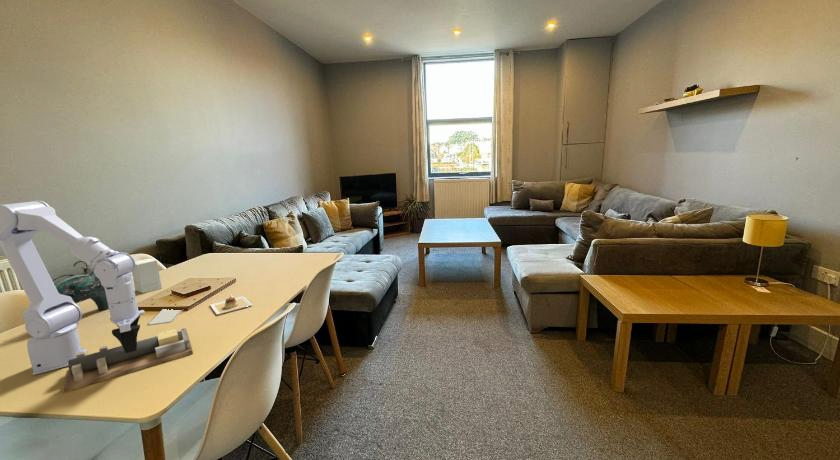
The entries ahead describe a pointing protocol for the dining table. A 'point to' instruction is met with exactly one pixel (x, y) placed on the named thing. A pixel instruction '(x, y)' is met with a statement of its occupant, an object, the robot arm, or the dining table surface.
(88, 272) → the dark green irregular piece
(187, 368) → the dining table surface
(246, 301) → the dessert
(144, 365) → the board
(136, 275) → the supplement box
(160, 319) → the smartphone
